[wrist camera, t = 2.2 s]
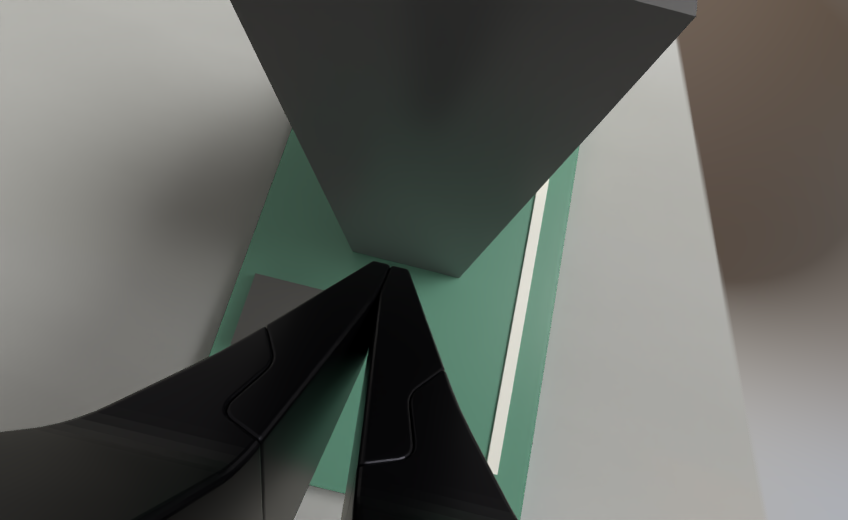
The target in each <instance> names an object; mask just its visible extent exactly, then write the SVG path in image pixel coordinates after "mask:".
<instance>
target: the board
mask: <svg viewBox="0 0 848 520" xmlns="http://www.w3.org/2000/svg"><path fill="white" fill-rule="evenodd" d="M578 151H579V146H578V147H577V148H576V150H575V151H574V152H573V153H572V154H571V155H570V156H569V157H568V158H567V159H566V161H565V162H564V163H563V164H562V165H561V166H560V167H559V168H558V169H557V171H556V172H555V173H554V174H553V175H552V176H551V177H550V178H549V179H548V180H547V182H546V183H545V184H544V185H543V186H542V187H541V188H540V189H539V190H538V192H537V193H536V194H535V195H534V196H533V197H532V198H531V199H530V200H529V201H528V203H527V204H526V205H525V206H524V207H523V208H522V209H521V210H520V211H519V213H518V214H517V215H516V216H515V217H514V218H513V219H512V220H511V221H510V222H509V224H508V225H507V226H506V227H505V228H504V229H503V230H502V231H501V232H500V234H499V235H498V236H497V237H496V238H495V239H494V240H493V241H492V242H491V243H490V245H489V246H488V247H487V248H486V249H485V250H484V251H483V252H482V253H481V255H480V256H479V257H478V258H477V259H476V260H475V261H474V262H473V263H472V265H471V266H470V267H469V268H468V269H467V270H466V271H465V272H464V273H463V274H462V276H461V277H460V278H457V277H453V276H449V275H445V274H441V273H437V272H433V271H429V270H425V269H421V268H417V267H413V266H409V265H405V264H401V263H397V262H393V261H389V260H385V259H381V258H377V257H373V256H369V255H365V254H361V253H357V252H353V251H352V249H351V247H350V245H349V243H348V241H347V239H346V237H345V235H344V233H343V231H342V229H341V227H340V225H339V223H338V221H337V219H336V217H335V214H334V212H333V210H332V208H331V206H330V204H329V202H328V200H327V198H326V196H325V194H324V192H323V190H322V188H321V186H320V184H319V182H318V180H317V178H316V176H315V173H314V171H313V169H312V167H311V165H310V163H309V161H308V159H307V157H306V155H305V153H304V151H303V149H302V147H301V145H300V143H299V141H298V139H297V137H296V135H295V132H294V130H293V128H292V130H291V133H290V135H289V138H288V141H287V144H286V146H285V149H284V152H283V155H282V157H281V160H280V163H279V166H278V168H277V171H276V174H275V177H274V179H273V182H272V185H271V188H270V190H269V193H268V196H267V198H266V201H265V204H264V207H263V209H262V212H261V215H260V218H259V220H258V223H257V226H256V229H255V231H254V234H253V237H252V240H251V242H250V245H249V248H248V251H247V253H246V256H245V259H244V262H243V264H242V267H241V270H240V273H239V275H238V278H237V281H236V283H235V286H234V289H233V292H232V294H231V297H230V300H229V303H228V305H227V308H226V311H225V314H224V316H223V319H222V322H221V325H220V327H219V330H218V333H217V336H216V338H215V341H214V344H213V347H212V349H211V352H210V355H209V357H210V356H212V355H214V354H216V353H218V352H220V351H222V350H223V349H225V348H227V347H229V346H231V345H232V344H234V343H236V342H238V341H239V340H241V339H243V338H245V337H247V336H248V335H250V334H252V333H253V332H255V331H257V330H258V329H260V328H262V327H266V325H267V324H269V323H270V322H272V321H274V320H275V319H277V318H279V317H280V316H282V315H284V314H285V313H287V312H289V311H290V310H292V309H294V308H295V307H297V306H299V305H300V304H302V303H304V302H305V301H307V300H309V299H310V298H312V297H314V296H315V295H317V294H319V293H320V292H322V291H324V290H325V289H327V288H329V287H330V286H332V285H334V284H335V283H337V282H339V281H340V280H342V279H344V278H345V277H347V276H349V275H350V274H352V273H354V272H355V271H357V270H359V269H360V268H362V267H364V266H365V265H367V264H369V263H370V262H372V261H377V262H381V263H385V264H388V265H389V266H390V268H391V267H392V266H397V267H401V268H405V269H408V270H409V272H410V275H411V278H412V280H413V283H414V286H415V289H416V291H417V294H418V297H419V300H420V302H421V305H422V308H423V311H424V313H425V316H426V319H427V322H428V324H429V327H430V330H431V332H432V335H433V338H434V341H435V343H436V346H437V349H438V352H439V354H440V357H441V360H442V363H443V365H444V368H445V372H446V373H447V376H448V379H449V381H450V384H451V387H452V389H453V392H454V394H455V397H456V399H457V402H458V404H459V407H460V409H461V411H462V413H463V415H464V417H465V419H466V421H467V424H468V426H469V428H470V430H471V432H472V434H473V436H474V438H475V440H476V442H477V443H478V445H479V447H480V449H481V451H482V453H483V455H484V457H485V459H486V461H487V463H488V465H489V467H490V468H491V470H492V472H493V474H494V476H495V478H496V480H497V482H498V484H499V486H500V488H501V490H502V492H503V493H504V495H505V497H506V499H507V501H508V503H509V505H510V507H511V508H512V510H513V512H514V514H515V515H516V517H517V519H518V520H520V517H521V511H522V505H523V498H524V492H525V486H526V479H527V473H528V467H529V460H530V454H531V448H532V442H533V435H534V429H535V423H536V416H537V410H538V404H539V397H540V391H541V385H542V378H543V372H544V366H545V359H546V353H547V347H548V341H549V334H550V328H551V322H552V315H553V309H554V303H555V296H556V290H557V284H558V277H559V271H560V265H561V259H562V252H563V246H564V240H565V233H566V227H567V221H568V214H569V208H570V202H571V195H572V189H573V183H574V177H575V170H576V164H577V158H578ZM367 356H368V354H367ZM366 361H367V357H366V359H365V361H364V364H363V366H362V369H361V371H360V373H359V375H358V377H357V380H356V382H355V384H354V386H353V389H352V391H351V393H350V395H349V397H348V400H347V402H346V404H345V406H344V409H343V411H342V413H341V415H340V417H339V420H338V422H337V424H336V426H335V428H334V431H333V433H332V435H331V437H330V440H329V442H328V444H327V446H326V448H325V451H324V453H323V455H322V457H321V460H320V462H319V464H318V466H317V468H316V471H315V473H314V475H313V477H312V480H311V482H310V484H309V485H311V486H316V487H320V488H324V489H328V490H332V491H336V492H340V493H344V494H345V492H346V486H347V479H348V473H349V467H350V460H351V454H352V448H353V442H354V435H355V429H356V423H357V416H358V410H359V404H360V398H361V391H362V385H363V379H364V373H365V366H366Z"/></svg>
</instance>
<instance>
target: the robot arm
mask: <svg viewBox="0 0 848 520" xmlns="http://www.w3.org/2000/svg"><path fill="white" fill-rule="evenodd" d="M367 354H368V356H367ZM366 357H367V361H366V366H365V373H364V379H363V385H362V391H361V398H360V404H359V410H358V416H357V423H356V429H355V435H354V442H353V448H352V454H351V460H350V467H349V473H348V479H347V486H346V492H345V498H344V504H343V511H342V517H341V520H518V519H517V517H516V515H515V514H514V512H513V510H512V508H511V507H510V505H509V503H508V501H507V499H506V497H505V495H504V493H503V492H502V490H501V488H500V486H499V484H498V482H497V480H496V478H495V476H494V474H493V472H492V470H491V468H490V467H489V465H488V463H487V461H486V459H485V457H484V455H483V453H482V451H481V449H480V447H479V445H478V443H477V442H476V440H475V438H474V436H473V434H472V432H471V430H470V428H469V426H468V424H467V421H466V419H465V417H464V415H463V413H462V411H461V409H460V407H459V404H458V402H457V399H456V397H455V394H454V392H453V389H452V387H451V384H450V381H449V379H448V376H447V373H446V372H445V368H444V365H443V363H442V360H441V357H440V354H439V352H438V349H437V346H436V343H435V341H434V338H433V335H432V332H431V330H430V327H429V324H428V322H427V319H426V316H425V313H424V311H423V308H422V305H421V302H420V300H419V297H418V294H417V291H416V289H415V286H414V283H413V280H412V278H411V275H410V272H409V270H408V269H405V268H401V267H397V266H392V267H391V268H390V266H389V265H388V264H385V263H381V262H377V261H372V262H370V263H369V264H367V265H365V266H364V267H362V268H360V269H359V270H357V271H355V272H354V273H352V274H350V275H349V276H347V277H345V278H344V279H342V280H340V281H339V282H337V283H335V284H334V285H332V286H330V287H329V288H327V289H325V290H324V291H322V292H320V293H319V294H317V295H315V296H314V297H312V298H310V299H309V300H307V301H305V302H304V303H302V304H300V305H299V306H297V307H295V308H294V309H292V310H290V311H289V312H287V313H285V314H284V315H282V316H280V317H279V318H277V319H275V320H274V321H272V322H270V323H269V324H267V325H266V327H262V328H260V329H258V330H257V331H255V332H253V333H252V334H250V335H248V336H247V337H245V338H243V339H241V340H239V341H238V342H236V343H234V344H232V345H231V346H229V347H227V348H225V349H223V350H222V351H220V352H218V353H216V354H214V355H212V356H210V357H208V358H206V359H204V360H202V361H200V362H198V363H196V364H194V365H192V366H190V367H188V368H185V369H183V370H181V371H179V372H177V373H175V374H173V375H171V376H169V377H167V378H165V379H162V380H160V381H158V382H156V383H154V384H152V385H150V386H148V387H146V388H144V389H142V390H139V391H137V392H135V393H133V394H131V395H129V396H127V397H125V398H123V399H121V400H119V401H116V402H114V403H112V404H110V405H108V406H106V407H103V408H101V409H99V410H97V411H94V412H92V413H89V414H86V415H83V416H81V417H78V418H75V419H72V420H68V421H65V422H61V423H57V424H53V425H48V426H43V427H37V428H30V429H21V430H13V431H4V432H0V520H294V517H295V515H296V513H297V511H298V508H299V506H300V504H301V502H302V500H303V497H304V495H305V493H306V491H307V488H308V486H309V484H310V482H311V480H312V477H313V475H314V473H315V471H316V468H317V466H318V464H319V462H320V460H321V457H322V455H323V453H324V451H325V448H326V446H327V444H328V442H329V440H330V437H331V435H332V433H333V431H334V428H335V426H336V424H337V422H338V420H339V417H340V415H341V413H342V411H343V409H344V406H345V404H346V402H347V400H348V397H349V395H350V393H351V391H352V389H353V386H354V384H355V382H356V380H357V377H358V375H359V373H360V371H361V369H362V366H363V364H364V361H365V359H366Z"/></svg>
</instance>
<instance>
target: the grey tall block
mask: <svg viewBox="0 0 848 520" xmlns="http://www.w3.org/2000/svg"><path fill="white" fill-rule="evenodd" d="M230 1H231V3H232V5H233V7H234V9H235V12H236V14H237V16H238V18H239V20H240V22H241V24H242V26H243V28H244V30H245V32H246V34H247V36H248V38H249V40H250V42H251V44H252V46H253V48H254V50H255V53H256V55H257V57H258V59H259V61H260V63H261V65H262V67H263V69H264V71H265V73H266V75H267V77H268V79H269V81H270V83H271V85H272V87H273V89H274V91H275V94H276V96H277V98H278V100H279V102H280V104H281V106H282V108H283V110H284V112H285V114H286V116H287V118H288V120H289V122H290V124H291V126H292V128H293V130H294V132H295V135H296V137H297V139H298V141H299V143H300V145H301V147H302V149H303V151H304V153H305V155H306V157H307V159H308V161H309V163H310V165H311V167H312V169H313V171H314V173H315V176H316V178H317V180H318V182H319V184H320V186H321V188H322V190H323V192H324V194H325V196H326V198H327V200H328V202H329V204H330V206H331V208H332V210H333V212H334V214H335V217H336V219H337V221H338V223H339V225H340V227H341V229H342V231H343V233H344V235H345V237H346V239H347V241H348V243H349V245H350V247H351V249H352V251H353V252H357V253H361V254H365V255H369V256H373V257H377V258H381V259H385V260H389V261H393V262H397V263H401V264H405V265H409V266H413V267H417V268H421V269H425V270H429V271H433V272H437V273H441V274H445V275H449V276H453V277H457V278H460V277H461V276H462V274H463V273H464V272H465V271H466V270H467V269H468V268H469V267H470V266H471V265H472V263H473V262H474V261H475V260H476V259H477V258H478V257H479V256H480V255H481V253H482V252H483V251H484V250H485V249H486V248H487V247H488V246H489V245H490V243H491V242H492V241H493V240H494V239H495V238H496V237H497V236H498V235H499V234H500V232H501V231H502V230H503V229H504V228H505V227H506V226H507V225H508V224H509V222H510V221H511V220H512V219H513V218H514V217H515V216H516V215H517V214H518V213H519V211H520V210H521V209H522V208H523V207H524V206H525V205H526V204H527V203H528V201H529V200H530V199H531V198H532V197H533V196H534V195H535V194H536V193H537V192H538V190H539V189H540V188H541V187H542V186H543V185H544V184H545V183H546V182H547V180H548V179H549V178H550V177H551V176H552V175H553V174H554V173H555V172H556V171H557V169H558V168H559V167H560V166H561V165H562V164H563V163H564V162H565V161H566V159H567V158H568V157H569V156H570V155H571V154H572V153H573V152H574V151H575V150H576V148H577V147H578V146H579V145H580V144H581V143H582V142H583V141H584V140H585V138H586V137H587V136H588V135H589V134H590V133H591V132H592V131H593V130H594V129H595V127H596V126H597V125H598V124H599V123H600V122H601V121H602V120H603V119H604V117H605V116H606V115H607V114H608V113H609V112H610V111H611V110H612V109H613V108H614V106H615V105H616V104H617V103H618V102H619V101H620V100H621V99H622V98H623V96H624V95H625V94H626V93H627V92H628V91H629V90H630V89H631V88H632V87H633V85H634V84H635V83H636V82H637V81H638V80H639V79H640V78H641V77H642V75H643V74H644V73H645V72H646V71H647V70H648V69H649V68H650V67H651V66H652V64H653V63H654V62H655V61H656V60H657V59H658V58H659V57H660V56H661V54H662V53H663V52H664V51H665V50H666V49H667V48H668V47H669V46H670V45H671V43H672V42H673V41H674V40H675V39H676V38H677V37H678V36H679V35H680V33H681V32H682V31H683V30H684V29H685V28H686V27H687V26H688V24H689V23H690V22H691V21H692V20H693V19H694V18H695V17H696V11H697V10H696V9H697V0H230Z"/></svg>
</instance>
